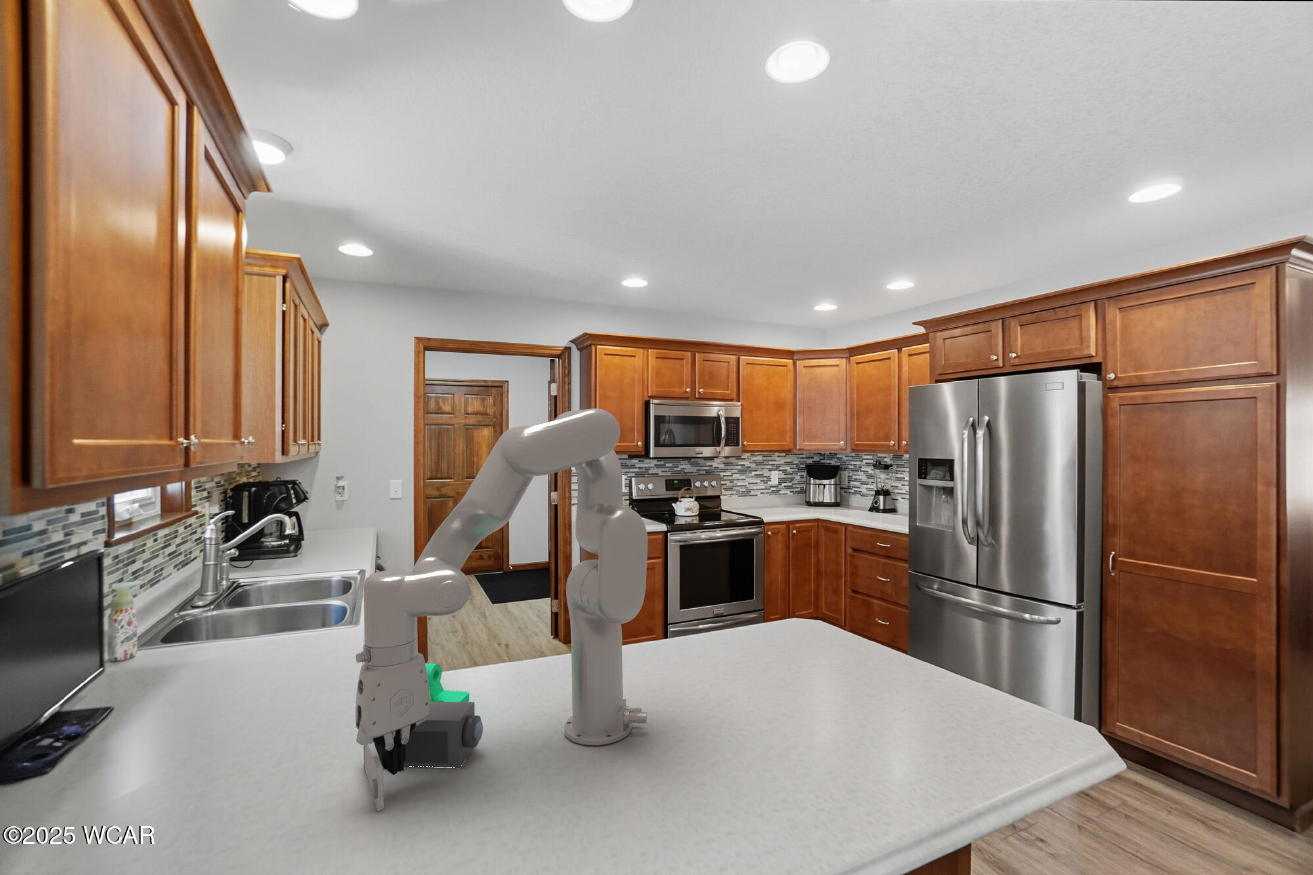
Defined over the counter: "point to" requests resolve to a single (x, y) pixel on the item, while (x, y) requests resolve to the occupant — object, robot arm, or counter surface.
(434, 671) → the camera mount
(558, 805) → the counter surface
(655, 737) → the counter surface
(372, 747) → the door
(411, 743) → the camera body
